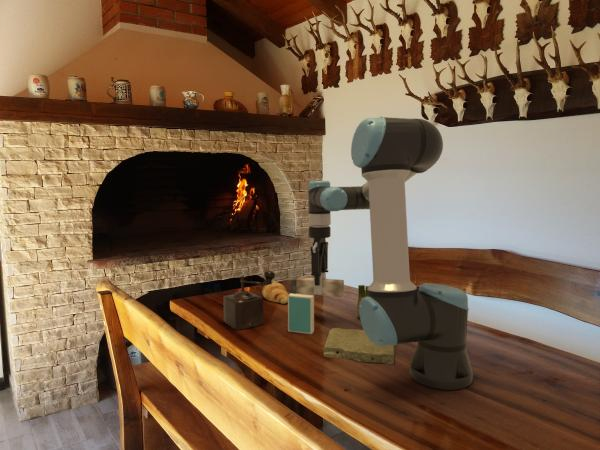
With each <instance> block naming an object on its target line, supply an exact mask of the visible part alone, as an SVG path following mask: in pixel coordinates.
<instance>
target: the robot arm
mask: <svg viewBox="0 0 600 450" xmlns="http://www.w3.org/2000/svg"><path fill="white" fill-rule="evenodd" d="M350 148H351V149H350V156H351V160H352V163H353V164H354V166H355V167H357V168H359V169H361V177H362V178H363V179H364V180H365V182H364V184H363V185H362V186H360V185H359V186H331V181H329V180H310V181H309V182H308V189H307V196H308V197H307V198H308V201H307V202H308V203H307V205H308V215H307V219H308V225H309V227H308V237H309V238H311V239H313V242H312V246H310V249H309V250H310V254H311V255H310V256H311V257H310V258H311V259H310V260H311V262H310V264H311V267H310V268H311V274H310V276H311V277H312V276H313V278H314V294H317V295H316V296H322V279H327V273H329V270H328V269H329V267H328V266H329V265H328V264H329V263H328V261H329V260H328V257H329V256H328V253H329V252H328V251H329V250H328V248H329V242H328V241H327V240H326V239H329V238H330V237H331V222H332V221H331V212H339V211H351V210H369V221H370V223H369V224H370V241H371V260H372V261H371V262H372V275H373V277H372V280H373V281H372V282H371V284H370V285H368V286H369V287H368V297H365V298H363V299H362V300H361V302H360V306H359V315H360V318H359V319H360V322H361V326H362V330H364V331H365V333H366V335H367V337H368V338H369V339H370V341H371V342H373V343H374V344H376V345H378V346H387V345H391V346H395V347H396V345H402V344H410V343H417V345H416V347H415V350H414V353H413V355H412V358H411V361H410V364H409V375H410V376H411V377H410V378H412V379H413V380H414V381H415V382H417V383H418V384H420V385H422V386H425V387H428V388H431V389H436V390H443V391H454V390H455V391H457V390H461V389H465V388H468V387H469V386H470V385H472V384H473V378H474V376H473V374H474V373H473V372H474V371H473V368H472V365H471V361H470V358H469V354H468V351H467V337H468V331H467V330H468V317H469V316H468V315H469V310H470V309H469V302H468V301H469V300H468V299H469V298H468V294H467V293H466V292H465V291H463V290H462V289H460V288H456V287H453V286H450V285H447V284H440V283H430V282H429V283H426V282H425V283H422V284H420V285H419V288H418V287H417V286H416V285H415V284H414V283H413V282H412V281H411V275H410V260H409V259H410V258H409V257H410V256H409V237H408V220H407V219H408V217H407V201H406V200H407V199H406V185H405V184H406V182H407V181H409V180H410V179H411V178H413V177H414V176H415V175H417V174H423V173H425V172H427V171H428V170H429V169H431V168H433V166H434V165H435V164H437V162H438V161H439V159H440V158H441V155H442V154H443V150H444V149H443V148H444V141H443V137H442V134H441V132H440V129H438V128H437V126H436V125H434V124H433V123H432V122H431V121H428V120H427V119H422V118H407V117H406V118H401V117H388V116H387V117H384V116H379V117H368V118H365V119H363V120H361V121H360V123H359V124H358V125H357V127H356V129H355V132H354V134H353V137H352V141H351V147H350Z"/></svg>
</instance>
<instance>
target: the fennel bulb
mask: <svg viewBox="0 0 600 450" xmlns="http://www.w3.org/2000/svg"><path fill="white" fill-rule="evenodd" d="M369 286H370V285H365V284H358V285H357V287H358V298H357V305H356V313H357V314H356V315H357V317H358V318H359V319H360V315H359V306H360V302H361V300H362V299H363V298H365V297H368V287H369Z"/></svg>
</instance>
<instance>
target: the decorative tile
mask: <svg viewBox="0 0 600 450" xmlns="http://www.w3.org/2000/svg"><path fill="white" fill-rule="evenodd" d="M395 347H396V345H395V346H391V345H387V346H378V345H376V344H374V343H373V342H371V341H370V339H369V338H368V337H367V335H366V333H365V331H364V329H356V328H355V329H353V328H340V327H332V328H331V329H329V332H328V335H327V337H326V341H325V344H324V348H323V357H324V358H327V359H330V358H332V359H336V358H338V359H345V360H352V361H356V362H361V363H362V362H365V363H376V364H378V363H379V364H389V365H394V364H395V355H396V354H395V352H396V351H395V349H396V348H395Z"/></svg>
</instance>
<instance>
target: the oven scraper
mask: <svg viewBox="0 0 600 450" xmlns="http://www.w3.org/2000/svg"><path fill="white" fill-rule="evenodd" d="M290 293H292V294H303V295H314V296H318V295H317V294H314V277H304V276H299V275H296V276H294V277H292V278H291V279H289V294H290ZM344 295H345V281H344V279H336V278H335V279H333V278H326V279H322V295H321V296H323V297H337V298H341V297H342V296H344Z"/></svg>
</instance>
